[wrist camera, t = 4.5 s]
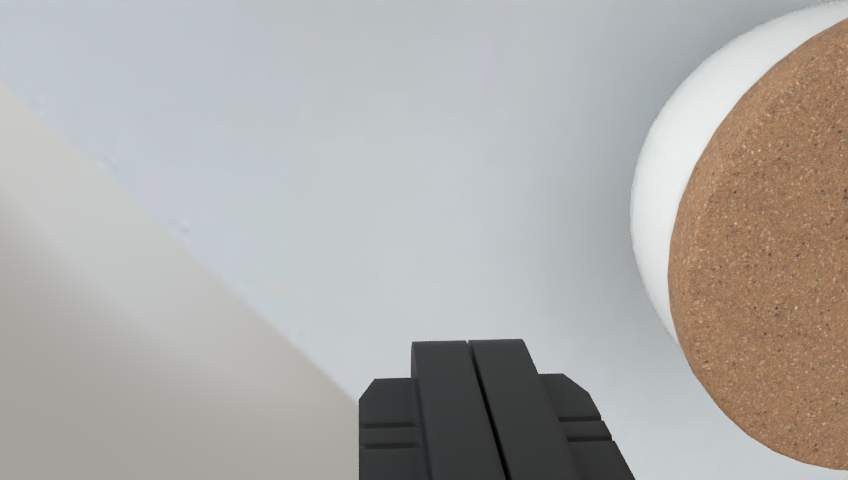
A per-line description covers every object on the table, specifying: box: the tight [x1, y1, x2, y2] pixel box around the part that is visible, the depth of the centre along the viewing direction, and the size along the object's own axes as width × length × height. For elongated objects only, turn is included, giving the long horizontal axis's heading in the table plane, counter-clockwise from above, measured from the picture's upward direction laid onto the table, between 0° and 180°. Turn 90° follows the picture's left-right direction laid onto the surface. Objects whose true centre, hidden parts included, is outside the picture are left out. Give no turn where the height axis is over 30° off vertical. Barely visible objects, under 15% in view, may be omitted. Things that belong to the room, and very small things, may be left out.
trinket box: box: [630, 0, 848, 470], centre depth 19 cm, size 11×11×9 cm
